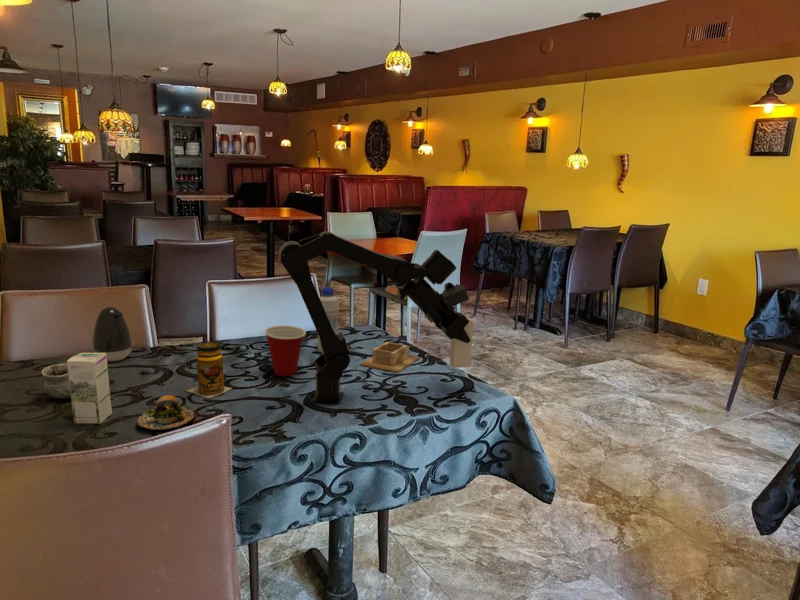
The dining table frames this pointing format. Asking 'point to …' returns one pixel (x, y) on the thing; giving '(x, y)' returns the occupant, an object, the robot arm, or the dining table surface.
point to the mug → (57, 381)
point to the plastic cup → (284, 348)
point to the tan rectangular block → (462, 349)
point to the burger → (166, 415)
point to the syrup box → (89, 387)
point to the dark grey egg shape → (111, 335)
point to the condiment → (209, 371)
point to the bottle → (330, 310)
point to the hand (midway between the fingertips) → (466, 340)
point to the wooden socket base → (390, 358)
